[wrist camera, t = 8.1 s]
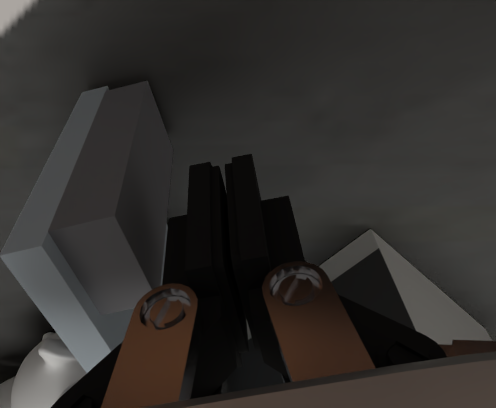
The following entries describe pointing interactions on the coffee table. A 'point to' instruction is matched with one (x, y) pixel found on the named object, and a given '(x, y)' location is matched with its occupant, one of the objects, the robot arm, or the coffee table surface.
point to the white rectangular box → (376, 303)
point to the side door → (97, 220)
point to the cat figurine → (42, 376)
